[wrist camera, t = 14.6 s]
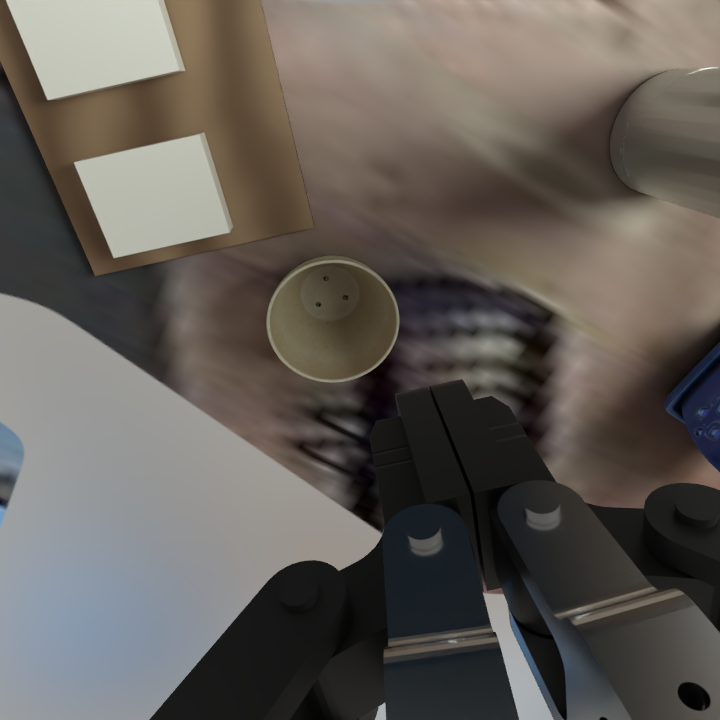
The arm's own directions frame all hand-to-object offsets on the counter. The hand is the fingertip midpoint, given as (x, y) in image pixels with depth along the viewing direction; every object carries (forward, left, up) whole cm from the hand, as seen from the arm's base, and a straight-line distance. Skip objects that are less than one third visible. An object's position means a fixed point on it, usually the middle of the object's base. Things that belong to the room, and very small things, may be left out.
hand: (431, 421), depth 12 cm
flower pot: (+3, +9, -35) cm, 36 cm away
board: (+12, -8, -35) cm, 38 cm away
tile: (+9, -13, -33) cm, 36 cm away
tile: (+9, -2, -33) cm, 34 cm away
